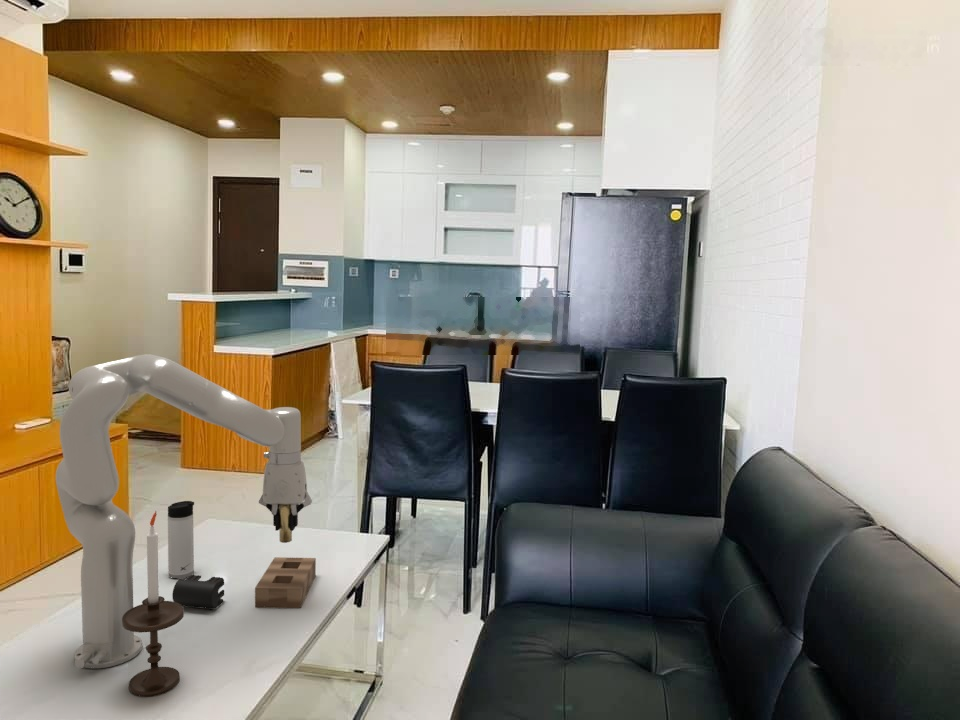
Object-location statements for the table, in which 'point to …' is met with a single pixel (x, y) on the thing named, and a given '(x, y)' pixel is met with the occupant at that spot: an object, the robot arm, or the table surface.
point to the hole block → (285, 583)
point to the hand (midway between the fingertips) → (285, 528)
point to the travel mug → (180, 539)
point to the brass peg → (285, 523)
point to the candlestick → (153, 628)
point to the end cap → (198, 592)
